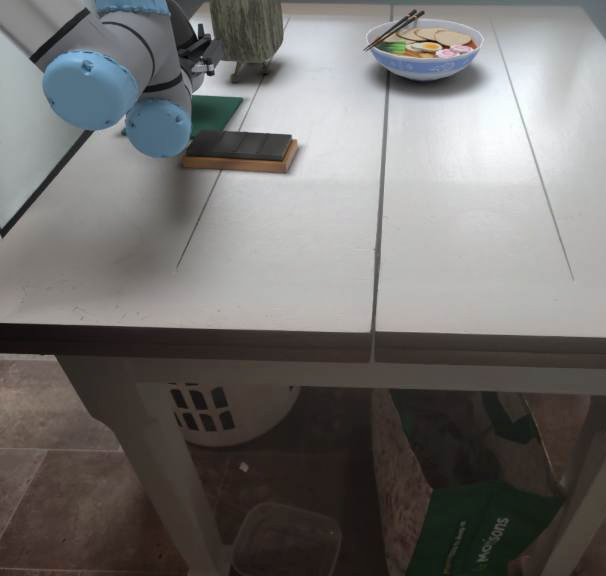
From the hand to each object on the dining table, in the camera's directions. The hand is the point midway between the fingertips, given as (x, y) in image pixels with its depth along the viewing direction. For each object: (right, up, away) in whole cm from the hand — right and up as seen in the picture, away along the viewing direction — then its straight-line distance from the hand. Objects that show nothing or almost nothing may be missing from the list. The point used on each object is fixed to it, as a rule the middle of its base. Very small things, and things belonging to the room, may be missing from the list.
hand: (170, 34), depth 101 cm
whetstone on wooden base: (+13, -22, -6) cm, 26 cm away
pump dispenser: (+1, -9, +2) cm, 9 cm away
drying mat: (+1, -12, +5) cm, 13 cm away
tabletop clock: (+10, +1, +20) cm, 23 cm away
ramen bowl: (+43, 0, +20) cm, 48 cm away
